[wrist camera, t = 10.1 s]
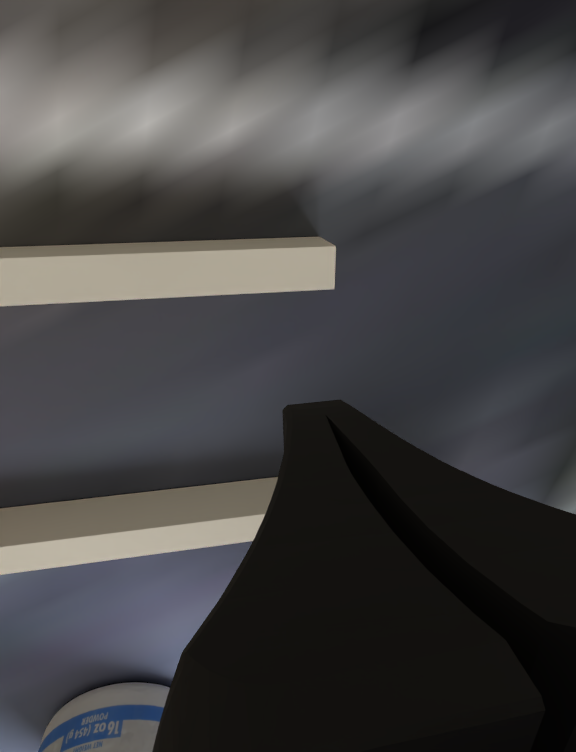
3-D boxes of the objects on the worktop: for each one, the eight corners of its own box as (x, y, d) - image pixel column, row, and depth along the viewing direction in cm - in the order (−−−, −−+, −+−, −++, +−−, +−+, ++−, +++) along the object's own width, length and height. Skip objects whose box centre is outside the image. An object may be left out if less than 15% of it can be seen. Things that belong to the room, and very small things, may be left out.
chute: (319, 236, 17) (336, 246, 15) (314, 496, 23) (325, 531, 21) (-136, 251, 15) (-196, 265, 13) (-21, 536, 21) (-48, 581, 18)
